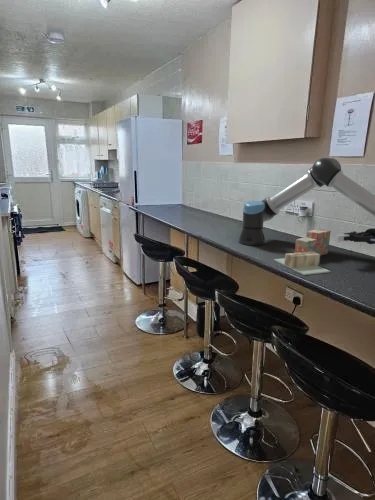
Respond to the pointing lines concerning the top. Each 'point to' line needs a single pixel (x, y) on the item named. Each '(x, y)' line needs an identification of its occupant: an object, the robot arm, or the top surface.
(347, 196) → the robot arm
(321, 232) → the stack of blocks
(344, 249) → the top surface
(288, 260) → the maple block
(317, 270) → the sage cutting board
